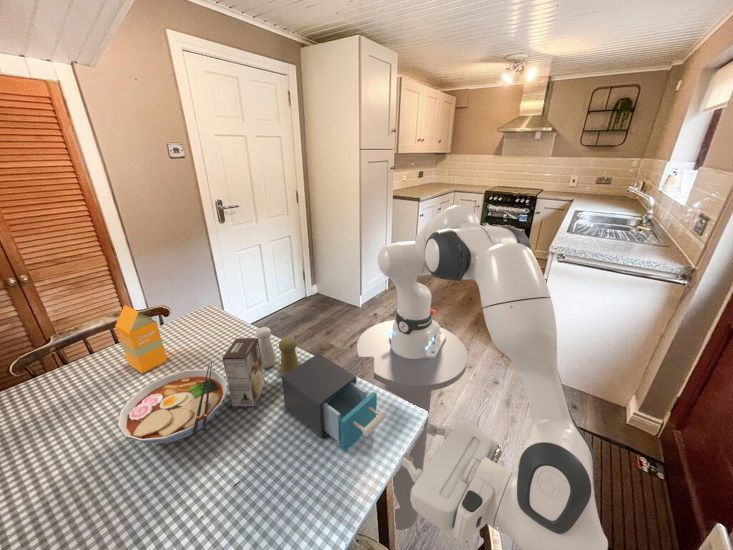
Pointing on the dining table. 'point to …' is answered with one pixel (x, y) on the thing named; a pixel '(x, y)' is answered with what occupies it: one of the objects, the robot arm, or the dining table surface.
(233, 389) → the coffee box
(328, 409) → the teal drawer
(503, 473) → the robot arm
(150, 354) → the orange juice
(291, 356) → the olive pepper shaker
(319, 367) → the grey drawer cabinet
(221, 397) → the ramen bowl
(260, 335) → the salt shaker
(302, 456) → the dining table surface
